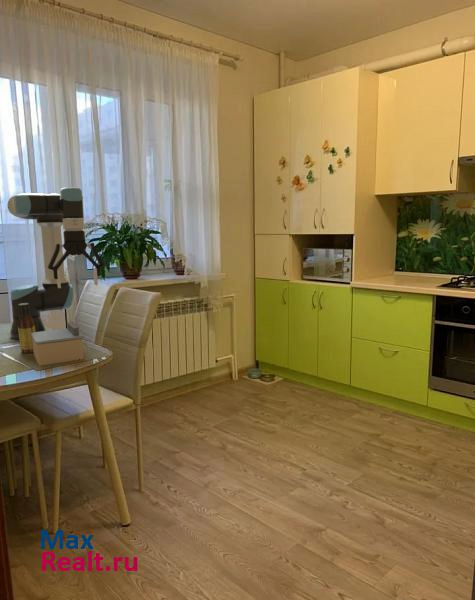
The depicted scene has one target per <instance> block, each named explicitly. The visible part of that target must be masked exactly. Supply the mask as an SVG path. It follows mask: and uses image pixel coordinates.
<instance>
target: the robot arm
mask: <svg viewBox="0 0 475 600" xmlns="http://www.w3.org/2000/svg"><path fill="white" fill-rule="evenodd" d="M82 191H83V190H82V189H81V188H80V187H63V188H60V193H53V192H49V193H44V192H43V193H41V192H40V193H39V192H38V193H37V192H34V193H32V192H31V193H30V192H27V193H26V192H25V193H19V194H17V193H16V194H14V195H13V196H11V197H10V198H9V199H8V201H7V209H8V211H9V213H10V214H11V215H13V216H14V217H15V218H16V217H17V218H18V219H23V220H36V224H37V225H38V227H40V231H41V243H42V252H43V253H42V254H43V256H42V257H43V262H44V263H43V266H44V276H45V279H44V280H43V281H42V284H41V285H42V286H39V285H38V283H37V284H36V283H30V284H25V285H23V284H22V285H19V286H15V287H14V288H12V289H11V291H10V302H11V310H12V313H11V314H12V324H11V327H10V331H9V336H10V339H15V340H19V332H18V321H19V316H20V312H19V308H18V304H21V303H29V312H30V315H31V316H32V318H33V320H34V325H35V332H41V331H47V329H46V327H45V325H44V322H43V320H42V317H41V312H49V311H52V312H53V311H58V310H59V311H62V310H68V309H70V308H71V307H72V305H73V302H74V286H73V285H72V284H71V283H69V280H68V279H67V278H66V277H65V276H66V274H65V263H64V262H65V260H66V259H67V258H68V257H69V256H76V255H77V256H81V255H83V256H84V258H86V259H87V260H88V261H89V262H90V263H91V264H92V265H93V283H94V285H95V286H98V285H99V282H98V281H99V280H98V277H100V276H101V271H100V269H101V268H102V267H104V266H105V263H104V260H102V258H101V256H100V255H99V252H98V250H96V247H95V243H94V242H93V241H92V242H89V243H86V234H85V221H84V218H85V217H84V206H83V204H84V202H83V201H84V200H83V199H84V197H83V194H82V193H83V192H82ZM62 229H63V230H64V231H63V236H62ZM62 237H63V238H62ZM62 239H63V240H62ZM63 242H64V243H63ZM87 247H88V248H89V249H90V251H91V252H92V254H93V255H94V257H95V259H96V261H95V260H94V259H93V258H92V256H91V255H90V254H89V253H88V252H87V251H86V249H87ZM63 249H65V252H63V251H64V250H63Z"/></svg>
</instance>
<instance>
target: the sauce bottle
mask: <svg viewBox="0 0 475 600" xmlns="http://www.w3.org/2000/svg"><path fill="white" fill-rule="evenodd" d="M18 308H19V312H20V316H19V321H18V332H19V339H18V340H19V346H20V347H19V348H20V350H21V352H22V353H23V354H31V353H34V352H33V341H32V336H31V333H33V332H35V325H34V320H33V318H32V316H31V315H30V312H29V303H21V304H18Z"/></svg>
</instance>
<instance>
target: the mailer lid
mask: <svg viewBox="0 0 475 600" xmlns="http://www.w3.org/2000/svg"><path fill="white" fill-rule="evenodd" d="M66 324H67V328H60V329H59V328H58V329H51V330H46V331H41V332H33V333H31V336H32V338H33V340H34V341H35V343H36V344H42V343H50V342H57V341H65V340H72V339H80V338H82V339H84V338H85V336H84V334H83V333H81V332H80V329H79V328H80V327H79V326H77V324H76V323H74V321H67V322H66Z"/></svg>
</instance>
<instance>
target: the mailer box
mask: <svg viewBox="0 0 475 600" xmlns="http://www.w3.org/2000/svg"><path fill="white" fill-rule="evenodd" d="M83 339H84V338H80V339H72V340H65V341H57V342H50V343H42V344H36V343H35V341H34V340H33V338H32V341H33V352H32V353H33V357H34V359H35V361H36V362H37V364H38V366H39V367H40V366H46V365H47V366H48V365H54V364H59V363H66V362H72V361H73V360H74V361H80V360H84V359H85V355H84V354H85V353H84V340H83ZM79 359H80V360H79Z"/></svg>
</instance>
